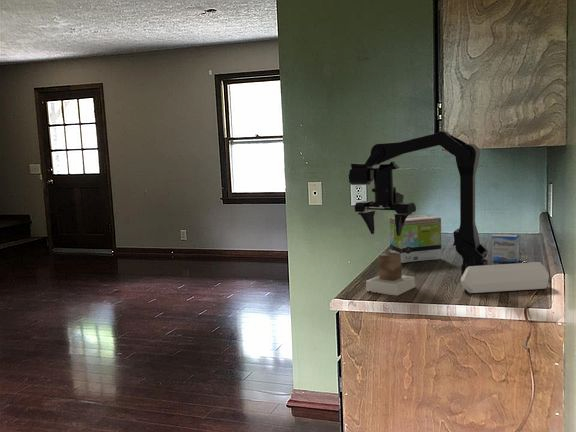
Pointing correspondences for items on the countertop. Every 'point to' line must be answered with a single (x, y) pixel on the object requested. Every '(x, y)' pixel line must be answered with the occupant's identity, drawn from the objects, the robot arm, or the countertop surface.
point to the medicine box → (505, 248)
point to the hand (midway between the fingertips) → (385, 234)
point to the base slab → (390, 285)
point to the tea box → (417, 238)
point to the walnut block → (390, 266)
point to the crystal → (505, 277)
